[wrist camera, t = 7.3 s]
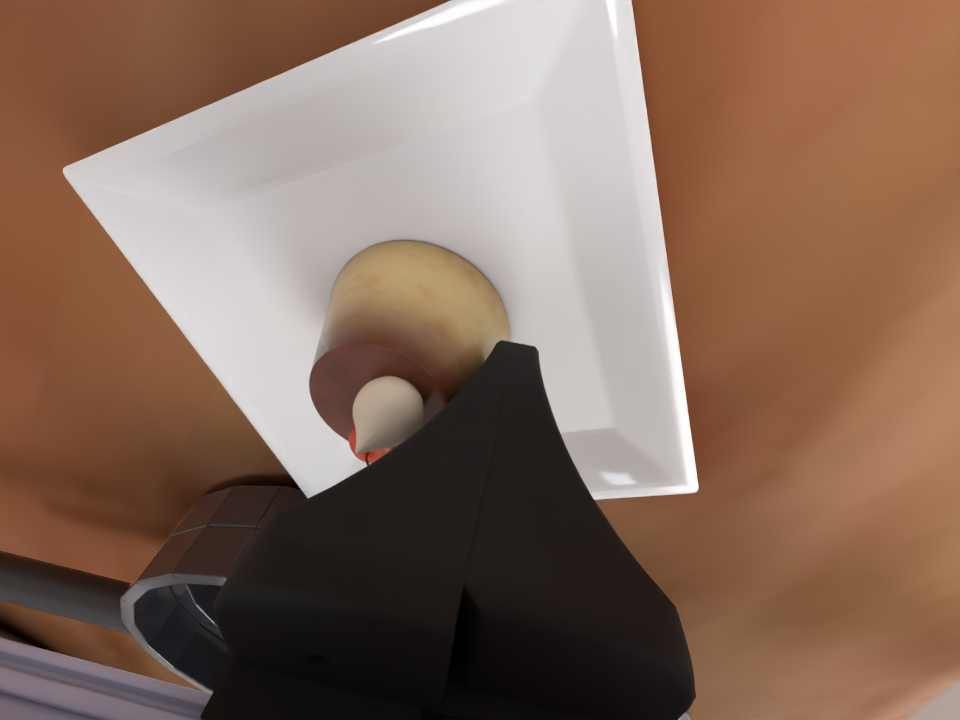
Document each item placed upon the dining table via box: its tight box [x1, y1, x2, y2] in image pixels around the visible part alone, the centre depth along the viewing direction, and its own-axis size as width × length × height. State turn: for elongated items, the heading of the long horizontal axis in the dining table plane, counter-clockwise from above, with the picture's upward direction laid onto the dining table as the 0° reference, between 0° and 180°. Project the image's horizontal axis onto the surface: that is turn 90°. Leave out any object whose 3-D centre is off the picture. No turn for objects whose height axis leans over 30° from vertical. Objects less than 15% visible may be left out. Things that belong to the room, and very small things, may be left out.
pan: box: [120, 486, 308, 694], centre depth 20 cm, size 12×12×4 cm
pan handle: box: [0, 551, 131, 634], centre depth 20 cm, size 2×8×2 cm, turn 84°
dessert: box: [63, 0, 699, 500], centre depth 11 cm, size 12×12×5 cm
